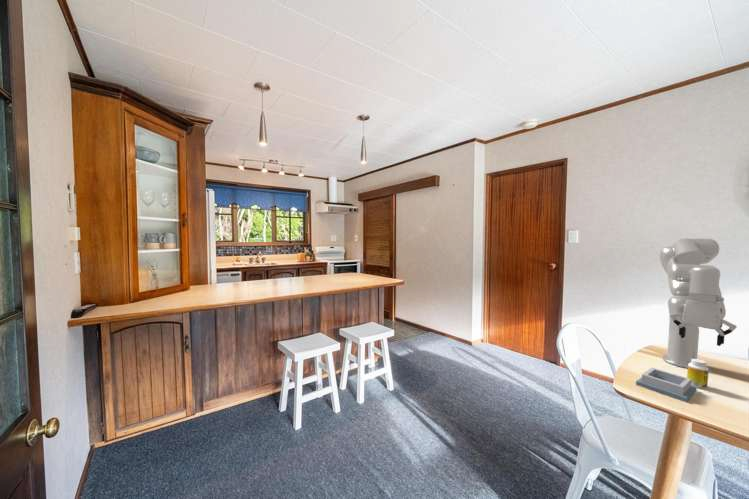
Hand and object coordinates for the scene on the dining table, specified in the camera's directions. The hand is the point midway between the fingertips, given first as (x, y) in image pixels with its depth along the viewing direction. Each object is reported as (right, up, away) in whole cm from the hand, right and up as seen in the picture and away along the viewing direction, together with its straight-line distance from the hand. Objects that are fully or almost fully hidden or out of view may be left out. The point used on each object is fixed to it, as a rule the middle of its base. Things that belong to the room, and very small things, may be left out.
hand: (700, 341), depth 114 cm
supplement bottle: (0, -18, +2) cm, 19 cm away
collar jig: (-14, -18, 0) cm, 23 cm away
